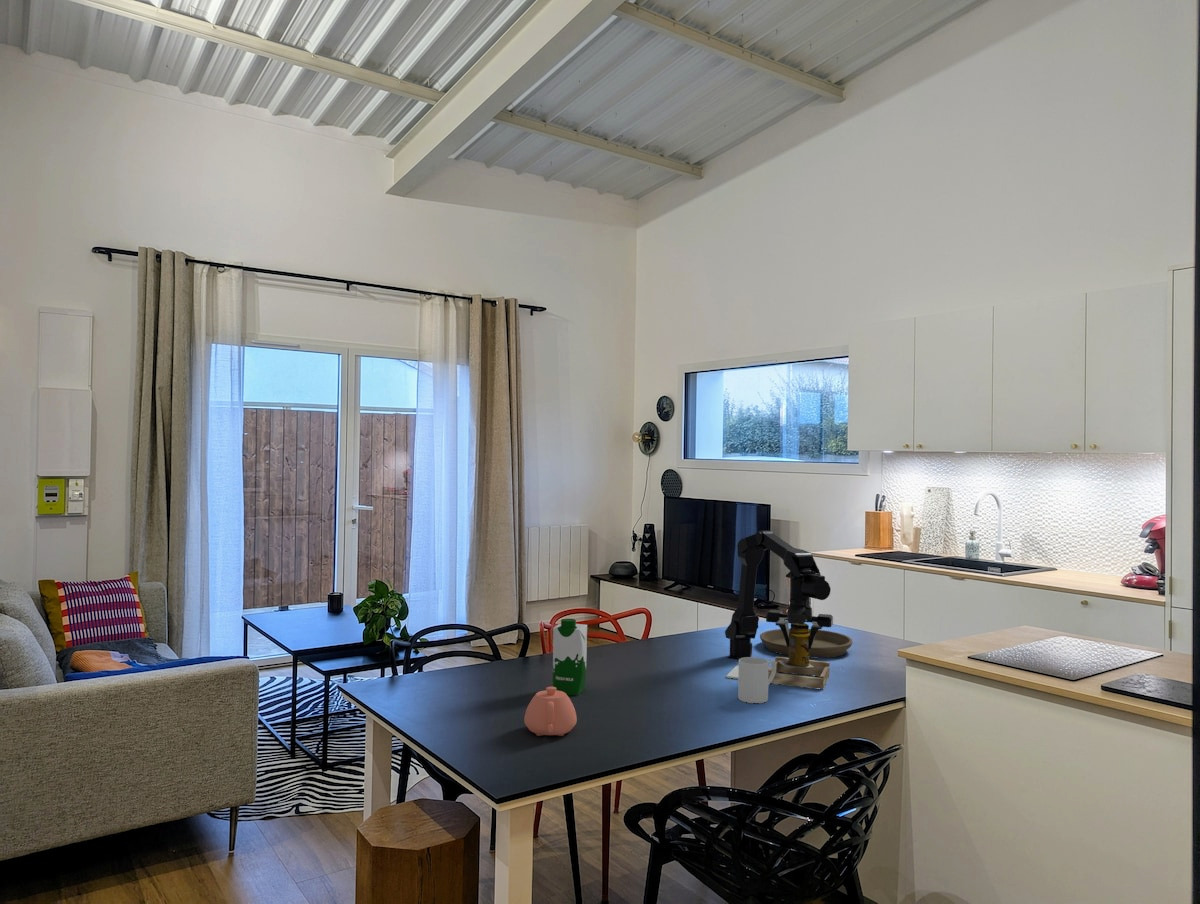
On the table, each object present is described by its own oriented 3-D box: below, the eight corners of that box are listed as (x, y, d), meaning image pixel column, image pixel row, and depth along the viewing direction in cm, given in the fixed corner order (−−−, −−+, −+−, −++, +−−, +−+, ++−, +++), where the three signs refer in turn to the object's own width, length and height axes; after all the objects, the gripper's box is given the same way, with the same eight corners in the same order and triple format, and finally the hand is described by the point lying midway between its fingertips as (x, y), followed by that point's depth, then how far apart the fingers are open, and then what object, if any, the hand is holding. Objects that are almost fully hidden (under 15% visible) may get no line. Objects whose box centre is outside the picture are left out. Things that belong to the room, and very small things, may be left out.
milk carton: (549, 694, 221) (550, 620, 221) (559, 685, 230) (560, 614, 230) (579, 697, 218) (581, 622, 219) (589, 688, 227) (590, 616, 227)
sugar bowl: (576, 723, 197) (577, 680, 197) (576, 743, 183) (577, 697, 183) (525, 722, 196) (526, 680, 197) (522, 742, 182) (522, 696, 183)
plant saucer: (755, 656, 271) (755, 642, 271) (764, 637, 301) (764, 624, 301) (852, 664, 262) (852, 649, 262) (852, 644, 292) (852, 631, 292)
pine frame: (766, 683, 236) (766, 667, 236) (775, 671, 250) (775, 656, 250) (823, 689, 230) (823, 673, 230) (829, 677, 244) (829, 662, 244)
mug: (753, 705, 214) (753, 665, 214) (732, 698, 220) (732, 659, 220) (785, 698, 221) (785, 659, 221) (763, 691, 227) (764, 654, 227)
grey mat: (726, 677, 241) (726, 675, 241) (736, 667, 254) (736, 665, 254) (759, 681, 237) (759, 679, 237) (768, 670, 250) (768, 668, 250)
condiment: (814, 667, 237) (815, 626, 237) (786, 667, 236) (787, 626, 236) (804, 661, 244) (805, 621, 245) (777, 661, 243) (778, 621, 243)
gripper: (762, 596, 236) (762, 650, 236) (829, 601, 229) (828, 656, 229) (769, 590, 247) (769, 642, 246) (833, 595, 240) (832, 648, 239)
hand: (799, 647), depth 240 cm, fingers closed on condiment, 6 cm apart
